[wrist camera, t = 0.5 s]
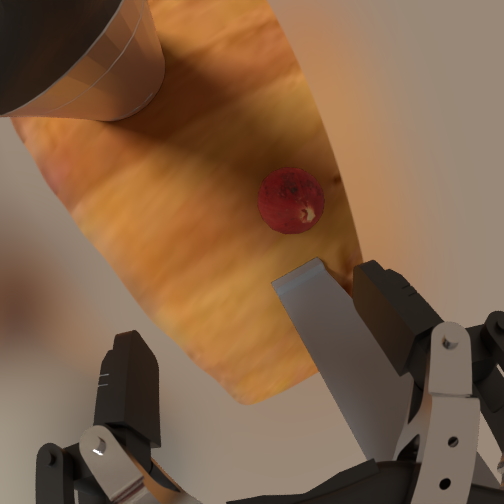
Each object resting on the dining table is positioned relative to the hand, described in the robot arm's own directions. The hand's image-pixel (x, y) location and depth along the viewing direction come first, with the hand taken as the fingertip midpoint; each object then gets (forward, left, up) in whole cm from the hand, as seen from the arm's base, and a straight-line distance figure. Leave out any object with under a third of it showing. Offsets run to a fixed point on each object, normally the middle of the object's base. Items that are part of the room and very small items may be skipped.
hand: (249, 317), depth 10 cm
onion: (+3, +6, -19) cm, 20 cm away
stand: (+17, +4, -19) cm, 26 cm away
